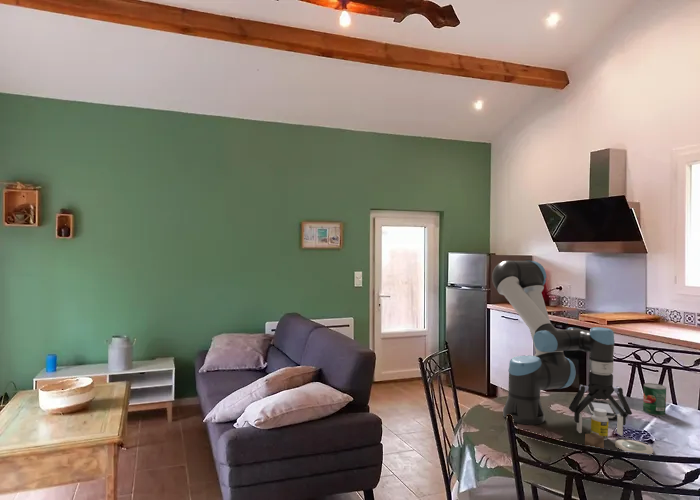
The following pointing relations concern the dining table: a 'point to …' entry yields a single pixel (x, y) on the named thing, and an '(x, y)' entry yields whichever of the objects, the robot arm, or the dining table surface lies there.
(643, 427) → the dining table surface
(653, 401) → the canned tomato
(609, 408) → the gaming console
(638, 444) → the saucer
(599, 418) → the supplement bottle
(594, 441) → the walnut block
